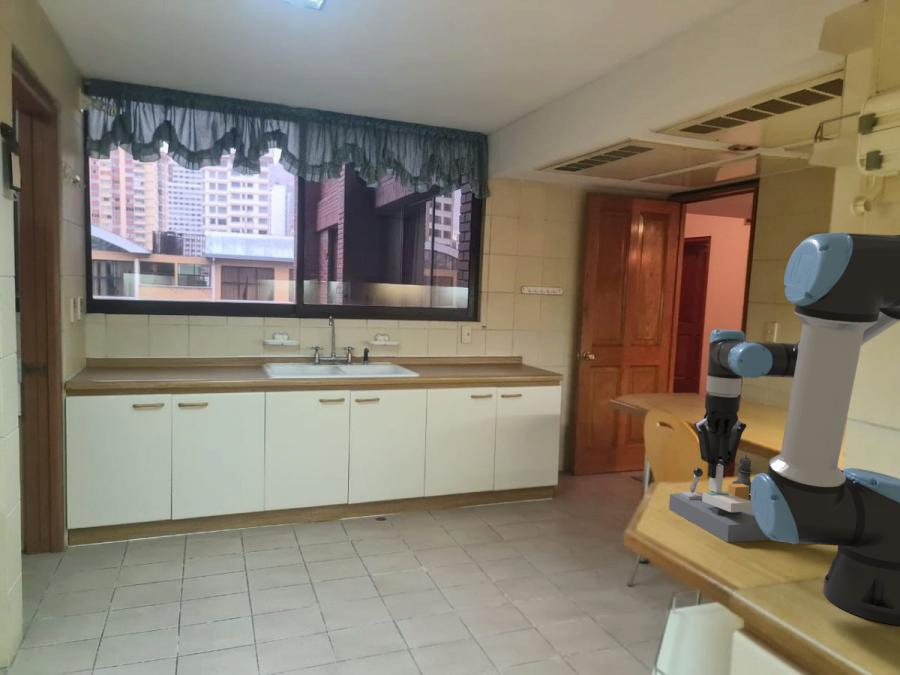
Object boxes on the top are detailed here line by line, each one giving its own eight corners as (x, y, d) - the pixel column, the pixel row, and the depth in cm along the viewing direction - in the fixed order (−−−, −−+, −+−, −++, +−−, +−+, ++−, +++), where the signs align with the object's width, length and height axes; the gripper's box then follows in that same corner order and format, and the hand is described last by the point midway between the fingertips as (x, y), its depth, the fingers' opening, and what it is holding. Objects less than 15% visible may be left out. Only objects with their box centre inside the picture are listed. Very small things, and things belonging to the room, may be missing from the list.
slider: (748, 502, 148) (749, 486, 148) (734, 503, 147) (735, 487, 147) (741, 499, 150) (742, 483, 150) (727, 500, 149) (728, 484, 149)
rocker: (753, 511, 136) (753, 501, 136) (730, 512, 135) (731, 502, 135) (723, 500, 146) (723, 491, 146) (702, 501, 145) (702, 492, 145)
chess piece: (758, 500, 165) (761, 457, 164) (737, 499, 165) (740, 456, 164) (748, 493, 171) (751, 452, 170) (727, 493, 171) (730, 451, 170)
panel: (795, 538, 137) (796, 514, 137) (727, 542, 133) (729, 518, 133) (728, 506, 159) (730, 485, 158) (668, 508, 155) (669, 487, 154)
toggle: (697, 495, 151) (705, 471, 148) (690, 495, 151) (698, 471, 148) (692, 489, 153) (700, 465, 150) (685, 490, 153) (693, 466, 150)
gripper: (735, 391, 148) (727, 484, 150) (689, 391, 145) (681, 486, 147) (757, 397, 141) (749, 494, 143) (709, 397, 138) (701, 497, 140)
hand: (715, 490), depth 145 cm, fingers closed
